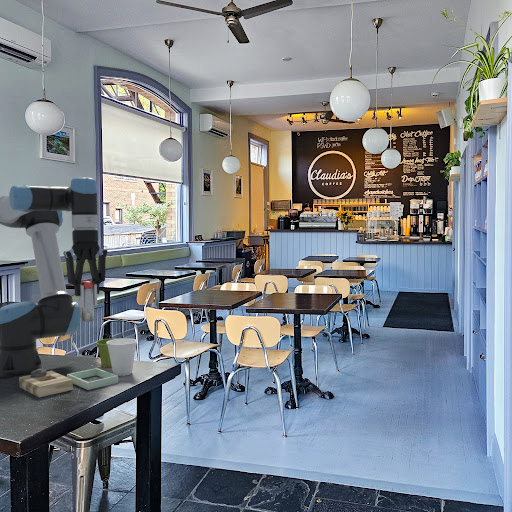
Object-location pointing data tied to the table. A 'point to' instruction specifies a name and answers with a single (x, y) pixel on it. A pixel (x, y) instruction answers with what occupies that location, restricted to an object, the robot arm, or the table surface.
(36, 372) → the wooden block with hole
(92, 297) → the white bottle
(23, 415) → the table surface
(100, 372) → the tray
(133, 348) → the cup
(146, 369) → the table surface
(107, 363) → the plant pot
